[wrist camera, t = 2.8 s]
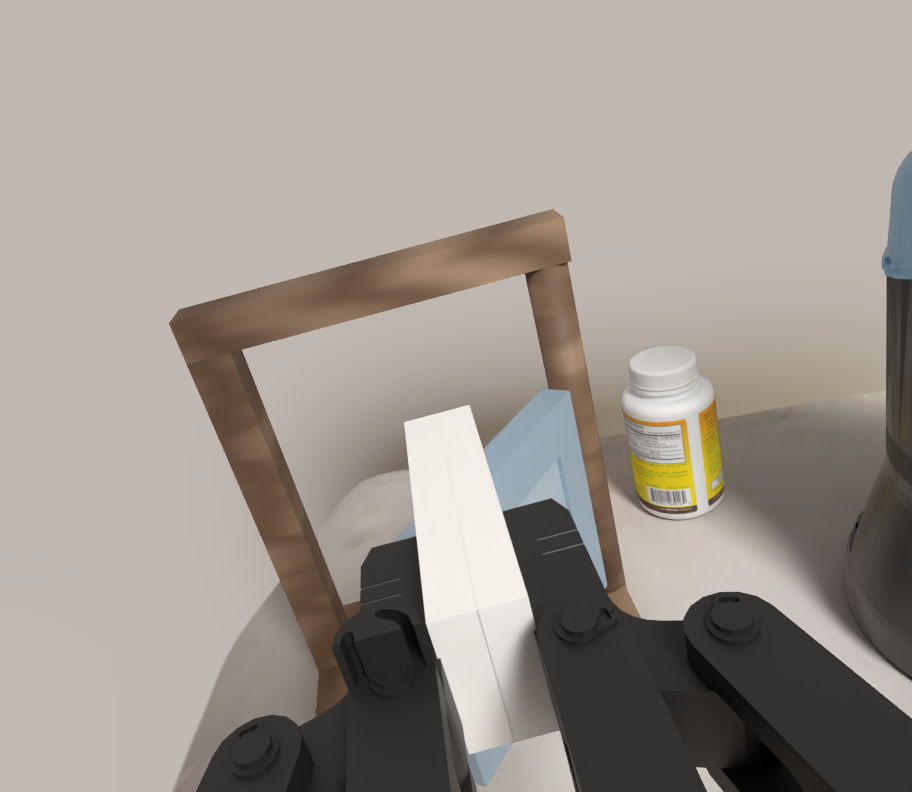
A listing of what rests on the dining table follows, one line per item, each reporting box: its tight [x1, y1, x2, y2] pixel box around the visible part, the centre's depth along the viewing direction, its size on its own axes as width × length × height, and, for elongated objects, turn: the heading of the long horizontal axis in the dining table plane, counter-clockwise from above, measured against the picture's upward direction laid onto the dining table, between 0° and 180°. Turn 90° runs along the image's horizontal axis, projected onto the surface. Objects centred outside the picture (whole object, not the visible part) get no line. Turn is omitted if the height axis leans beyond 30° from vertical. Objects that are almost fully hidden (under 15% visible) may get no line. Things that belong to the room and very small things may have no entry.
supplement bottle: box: [621, 346, 725, 520], centre depth 47 cm, size 6×6×10 cm
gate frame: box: [169, 209, 641, 716], centre depth 38 cm, size 18×8×22 cm, turn 97°
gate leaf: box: [394, 389, 607, 787], centre depth 34 cm, size 13×2×12 cm, turn 147°
